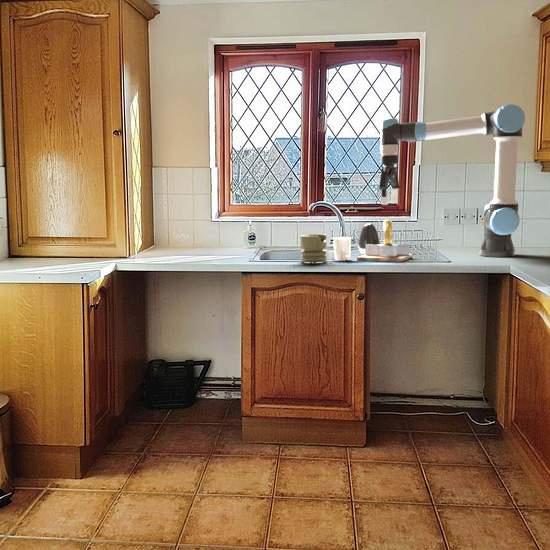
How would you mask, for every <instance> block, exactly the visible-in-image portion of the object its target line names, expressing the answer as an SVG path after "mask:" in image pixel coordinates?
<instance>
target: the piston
mask: <svg viewBox="0 0 550 550" xmlns="http://www.w3.org/2000/svg"><path fill="white" fill-rule="evenodd" d="M327 246H328V245H327V234H323V233H321V234H320V233H319V234H318V233H314V234H313V233H309V234H308V235H301V234H300V249H301V251H300V255H301V256H300V263H301V262H310V263H312V262H313V263H316V262H326V263H327V261H328V258H327V253H328V252H327V250H325V249H327Z"/></svg>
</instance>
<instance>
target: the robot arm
mask: <svg viewBox="0 0 550 550" xmlns="http://www.w3.org/2000/svg"><path fill="white" fill-rule="evenodd" d="M525 122H526V115H525V112H524V110H523V108H522V107H520V106H519V105H517V104H515V103H514V104H511V103H508V104H504V105H502V106H500V107H499V108H498V109H496V110H492V111H490V112H484V113H482V114H481V115H478V116H470V117H464V118H463V117H462V118H455V119H447V120H438V121H432V122H425V121H415V122H413V121H412V122H403V123H402V122H399V120H398V119H397V118H396V117H395V118H383V119H381V121H380V128H379V130H380V132H379V133H380V135H379V136H380V137H379V138H380V147H379V150H380V155H381V156H380V165H384V166H381V174H380V179H379V187H378V190H380V192H381V193H380V196H381V197H380V198H381V199H380V200H381V201H380V202H381V204H380V205H381V206H388V205H389V189H388V188H389V187H388V186H389V183H390V185H391V188H390V189H391V190H390V196H391V197H390V198H391V199H390V203H391V204H398V203H399V202H398V201H399V199H398V196H399V195H398V194H399V193H398V190H399V189H400V181H399V175H398V167H397V166H395V165H398V164H399V156H398V154H399V141H402V142H403V141H406V142H407V143H416V142H422V141H428V140H437V139H445V138H455V137H463V136H472V135H478V134H482V135H483V136H488V135H489V136H491V135H492V139H493V140H494V142H495V143H496V144H495V160H494V161H495V162H494V163H495V164H494V180H493V181H494V184H493V199H492V200H491V201H490V202H489V204H486V205H485V206H484V210H483V213H484V217H483V218H484V221H483V223H484V224H483V226H484V227H483V241H482V243H481V246H480V249H479V256H484V257H488V258H489V257H493V258H496V257H497V258H502V257H503V258H507V257H508V258H509V257H515V256H516V250H515V246H514V243H513V240H512V234H513V233H514V232H516V230H517V229H518V228H519V226H520V221H521V219H520V215H519V202H518V201H517V200H516V185H517V183H516V182H517V167H518V166H517V165H518V163H517V162H518V150H519V149H518V147H519V141H520V140H521V139H522V138H523V127H524V125H525Z"/></svg>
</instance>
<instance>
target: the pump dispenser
mask: <svg viewBox="0 0 550 550" xmlns="http://www.w3.org/2000/svg"><path fill="white" fill-rule="evenodd" d="M366 244H371V245H380V244H381V243H380V238H379V233H378V230H377V228H376V227H375V225H374V224H373V223H371V222H369V223H368V222H367V223H365V224H364V225H363V227H362V228H361V231H360V235H359V239H358V245H357V247H358V251H359V253H360V254H361V255H365V254H366Z"/></svg>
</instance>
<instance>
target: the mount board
mask: <svg viewBox="0 0 550 550" xmlns="http://www.w3.org/2000/svg"><path fill="white" fill-rule="evenodd" d="M412 256H413V255H412V254H411V253H409V255H400V256H397V257H378V256H366V254H365V255H363V254H361V255H360V256H359V255H358V256H357V257H356V261H358V260H368V261H367V262H386V261H391V263H393V262H395V263H402V262H405V261H406V260H410V259H412Z"/></svg>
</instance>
